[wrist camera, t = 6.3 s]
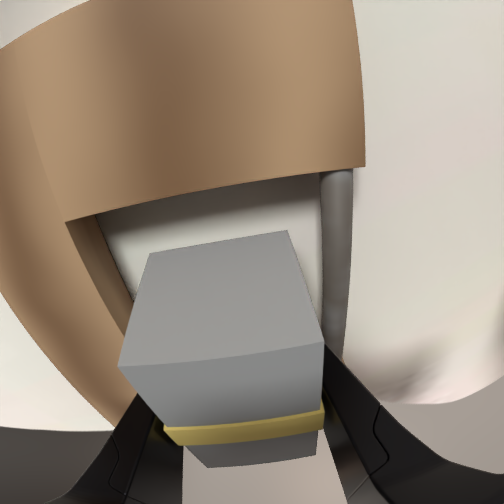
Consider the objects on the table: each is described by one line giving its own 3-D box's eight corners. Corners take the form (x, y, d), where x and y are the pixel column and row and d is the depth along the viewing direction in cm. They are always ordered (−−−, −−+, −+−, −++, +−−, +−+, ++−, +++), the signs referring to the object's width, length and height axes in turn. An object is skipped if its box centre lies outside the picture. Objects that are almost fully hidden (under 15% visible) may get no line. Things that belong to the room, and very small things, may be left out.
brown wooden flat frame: (322, -22, 6) (344, -39, 5) (331, 396, 19) (337, 421, 17) (-41, 98, 7) (-73, 111, 5) (133, 416, 19) (130, 440, 17)
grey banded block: (290, 229, 9) (330, 344, 5) (300, 370, 13) (319, 456, 9) (146, 254, 9) (111, 371, 5) (204, 384, 13) (204, 470, 9)
